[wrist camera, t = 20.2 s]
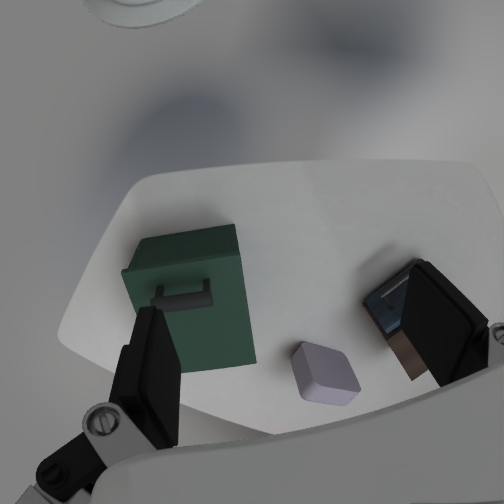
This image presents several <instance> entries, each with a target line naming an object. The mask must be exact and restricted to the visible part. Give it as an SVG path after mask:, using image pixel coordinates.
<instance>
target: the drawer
mask: <svg viewBox="0 0 504 504" xmlns="http://www.w3.org/2000/svg"><path fill="white" fill-rule="evenodd" d="M420 262H423V261H422V260H421V259H420V258H419V259H418V260H417V261H415V262H414V263H413V264H412V265H410V266H409V267H408V268H407V269H405V270H404V271H403V272H401V273H400V274H399V275H397V276H396V277H395V278H394V279H392V280H391V281H390V282H388V283H387V284H386V285H384V286H383V287H382V288H380V289H379V290H378V291H376V292H375V293H374V294H372V295H371V296H369V297H368V298H367V299H365V302H366V303H367V305H368V306H369V308H370V309H371V311H372V312H373V314H374V315H375V317H376V318H377V320H378V321H379V323H380V324H381V326H382V327H383V329H384V330H385V332H386V334H389V333H392V332H393V331H394V330H396V329H397V328H399V327H400V319H401V315H402V310H403V305H404V300H405V295H406V290H407V284H408V278H409V272H410V269H411V268H413V265H414V264H415V263H420Z"/></svg>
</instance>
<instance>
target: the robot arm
mask: <svg viewBox="0 0 504 504" xmlns="http://www.w3.org/2000/svg"><path fill="white" fill-rule="evenodd" d="M113 1H115V2H117V3H120V4H123V5H129V6H143V5H148V4H153V3H156V2H159V1H162V0H113ZM488 321H489V320H488V319H487V318H486V317H485V316H484V315H483V314H482V313H481V312H480V311H479V310H478V309H477V308H476V307H475V306H474V305H473V304H472V303H471V302H470V301H469V300H468V299H467V298H466V297H465V296H464V295H463V294H462V293H461V292H460V291H459V290H458V289H457V288H456V287H455V286H454V285H453V284H452V283H451V282H450V281H449V280H448V279H447V278H446V277H445V276H444V275H443V274H442V273H441V272H440V271H439V270H437V269H436V268H435V267H434V266H433V265H432V264H431V263H430V262H428V261H425V262H420V263H415V264H414V265H413V268H411V269H410V272H409V278H408V284H407V290H406V295H405V300H404V305H403V310H402V315H401V319H400V327H401V329H402V331H403V332H404V334H405V335H406V337H407V338H408V340H409V341H410V343H411V344H412V345H413V347H414V348H415V350H416V351H417V353H418V354H419V356H420V357H421V359H422V360H423V362H424V363H425V365H426V366H427V368H428V369H429V371H430V372H431V374H432V375H433V377H434V378H435V380H436V382H437V383H438V385H439V386H440V387H441V388H438V389H436V390H433V391H431V392H428V393H426V394H423V395H420V396H418V397H415V398H412V399H409V400H406V401H404V402H401V403H398V404H395V405H392V406H389V407H386V408H382V409H379V410H376V411H373V412H369V413H366V414H363V415H359V416H356V417H352V418H348V419H344V420H341V421H337V422H333V423H329V424H324V425H320V426H316V427H311V428H307V429H302V430H297V431H292V432H287V433H282V434H276V435H271V436H264V437H258V438H251V439H244V440H237V441H229V442H221V443H212V444H202V445H194V446H184V447H175V448H173V446H177V445H178V429H179V403H180V383H181V364H180V360H179V357H178V354H177V352H176V349H175V346H174V343H173V340H172V337H171V334H170V331H169V329H168V326H167V323H166V319H165V316H164V313H163V311H162V309H157V307H156V306H155V305H153V306H144V307H140V308H139V310H138V314H137V317H136V321H135V325H134V328H133V332H132V336H131V340H130V344H129V345H124V346H123V347H122V349H121V353H120V357H119V361H118V364H117V368H116V372H115V376H114V381H113V384H112V389H111V393H110V397H109V402H104V403H99V404H97V405H95V406H93V407H92V408H90V409H89V410H88V411H87V412H86V414H85V415H84V418H83V421H82V428H83V430H84V432H82V433H81V434H80V435H78V436H77V437H76V438H74V439H73V440H71V441H70V442H68V443H67V444H66V445H64V446H63V447H61V448H60V449H59V450H57V451H56V452H54V453H53V454H51V455H50V456H49V457H47V458H46V459H44V460H43V461H42V462H41V463H40V465H39V466H38V468H37V471H36V481H37V483H36V484H35V485H34V487H33V486H32V485H30V486H29V487H28V488H27V490H26V491H25V492H24V493H23V495H22V496H21V497H20V499H19V500H18V501H17V502H16V503H15V504H504V323H500V322H499V323H495V324H493V325H492V326H491V327H490V328H489V327H488V326H487V324H488Z"/></svg>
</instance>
